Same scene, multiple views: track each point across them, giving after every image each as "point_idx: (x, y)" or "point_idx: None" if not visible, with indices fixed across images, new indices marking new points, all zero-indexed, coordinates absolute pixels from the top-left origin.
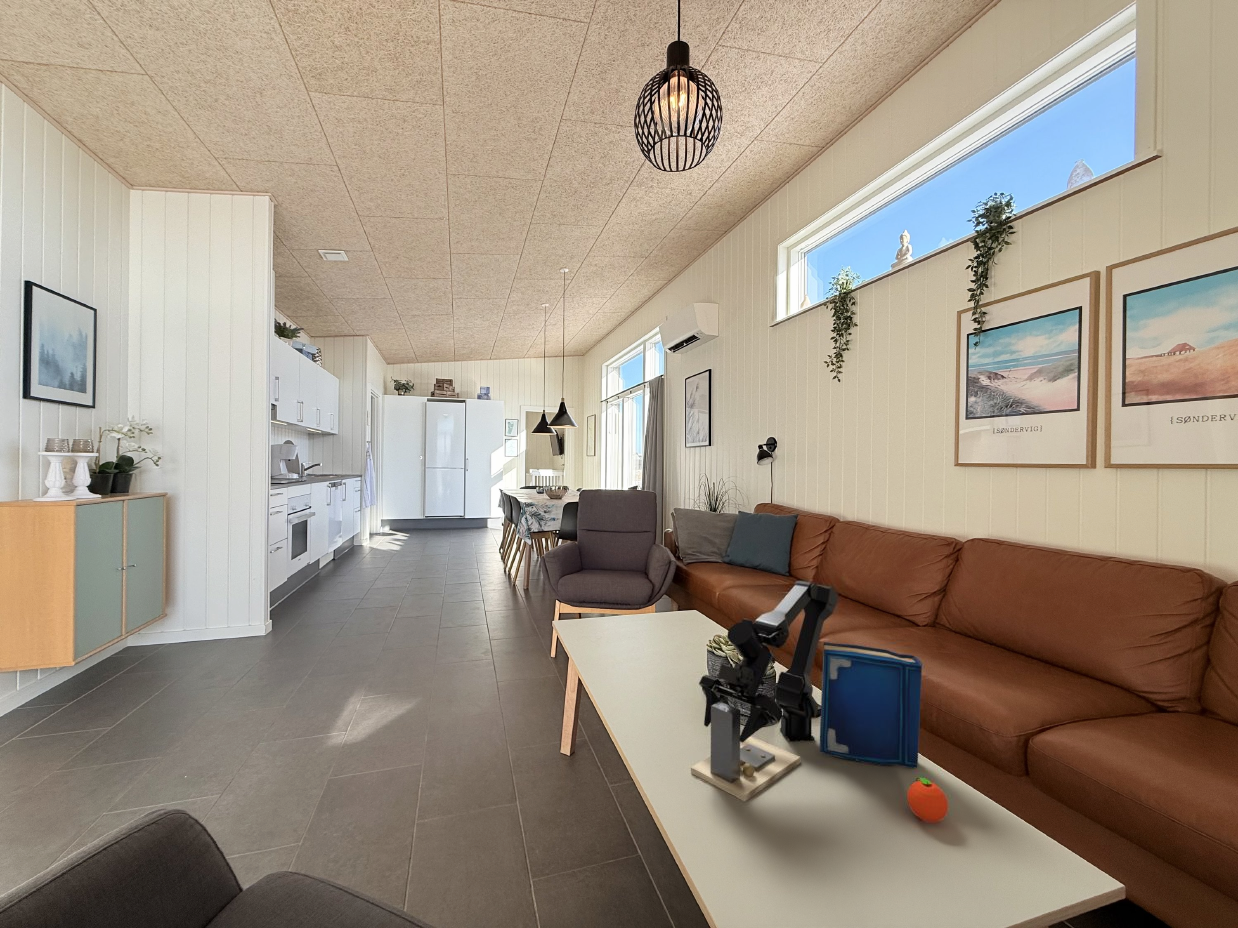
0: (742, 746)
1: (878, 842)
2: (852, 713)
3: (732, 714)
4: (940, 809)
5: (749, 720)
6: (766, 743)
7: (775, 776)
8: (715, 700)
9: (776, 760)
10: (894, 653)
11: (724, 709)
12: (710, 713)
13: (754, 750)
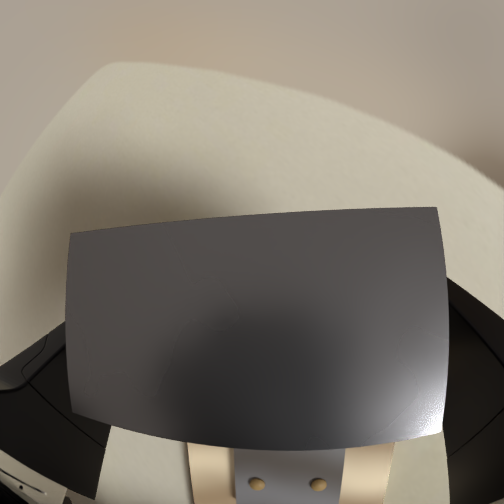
0: (354, 492)
1: (8, 341)
2: None
3: (75, 242)
4: None
5: (36, 357)
6: None
7: None
8: (502, 454)
9: (229, 495)
10: None
11: (202, 266)
12: (456, 341)
13: (300, 493)
